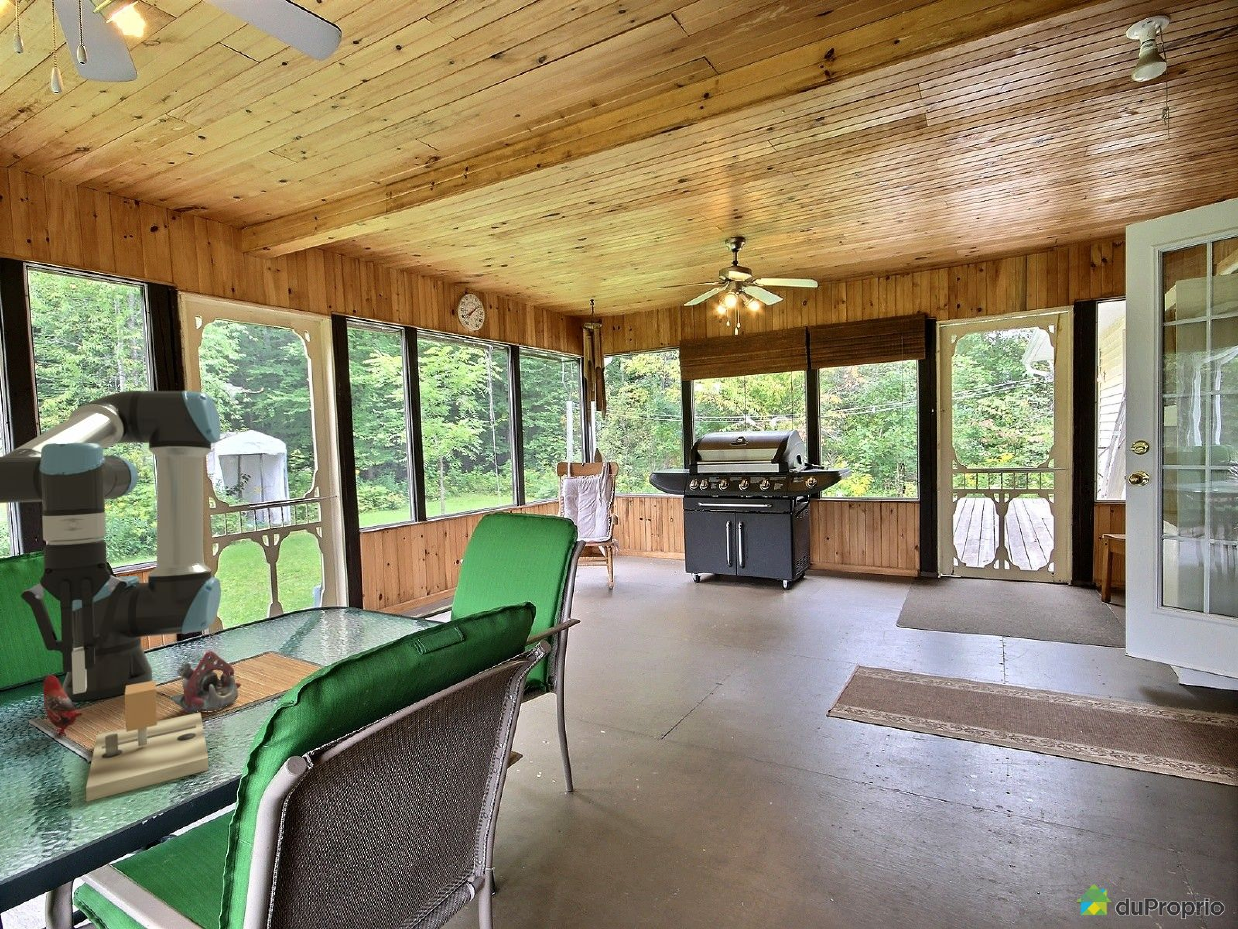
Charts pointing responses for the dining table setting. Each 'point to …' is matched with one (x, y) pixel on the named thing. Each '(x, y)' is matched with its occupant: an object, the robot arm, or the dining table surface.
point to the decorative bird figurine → (58, 704)
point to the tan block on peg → (141, 708)
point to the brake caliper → (207, 685)
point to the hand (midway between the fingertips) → (80, 690)
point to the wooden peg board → (147, 756)
